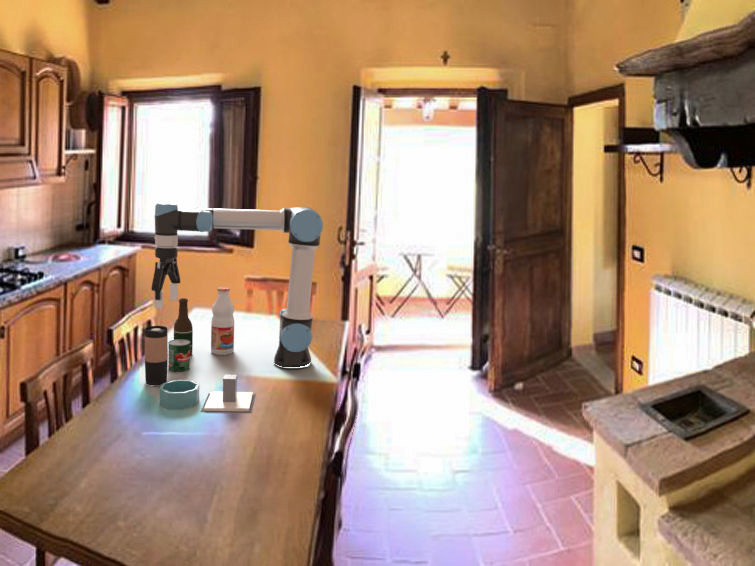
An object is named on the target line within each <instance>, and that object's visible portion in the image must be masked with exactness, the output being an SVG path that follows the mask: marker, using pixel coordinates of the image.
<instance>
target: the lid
mask: <svg viewBox="0 0 755 566" xmlns="http://www.w3.org/2000/svg"><path fill="white" fill-rule="evenodd" d="M237 388H238V375H237V374H224V376H223V378H222V391H214V390H213V391H211V392H209V393H210V396H209V398H208V400H207V403H206V405H205V407H204V411H249V410H250V405H251V401H252V397H253V394H254V392H253V391H237V390H238V389H237Z"/></svg>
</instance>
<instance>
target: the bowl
mask: <svg viewBox="0 0 755 566" xmlns="http://www.w3.org/2000/svg"><path fill="white" fill-rule="evenodd" d="M199 401H200V383H198V382H196V381H193V380H192V379H174V380H171V381H167V382H166V383H163V384H162V385H160V387H159V406H161V407H163V408H165V409H167V410H185V409H188V408H191V407H192V408H193V407H195V406H197V405H198V403H199Z"/></svg>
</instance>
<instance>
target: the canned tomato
mask: <svg viewBox="0 0 755 566" xmlns="http://www.w3.org/2000/svg"><path fill="white" fill-rule="evenodd" d="M190 370H191V357H190V341H189V340H185V339H175V340H174V339H173V340H169V341H168V366H167V372H170V373H171V374H172V373H173V374H182V373H187V372H189V371H190Z"/></svg>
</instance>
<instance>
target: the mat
mask: <svg viewBox="0 0 755 566" xmlns="http://www.w3.org/2000/svg"><path fill="white" fill-rule="evenodd" d="M210 393H211V392H209V393H208V394H207V396H206V399H205V401H204V404H203V405H202V408H201V410H200V413H223V414H224V413H226V414H227V413H229V414H230V413H232V414H233V413H239V414H240V413H242V414H243V413H245V414H252V413H253V410H254V405H255V400H256V398H257V397H256V396H257V393H253V397H252V401H251V405H250V410H249V411H204V407H205V405H206V403H207V400H208V398H209V396H210Z"/></svg>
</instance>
